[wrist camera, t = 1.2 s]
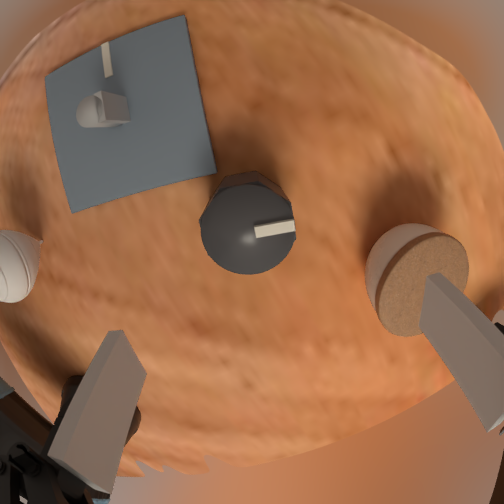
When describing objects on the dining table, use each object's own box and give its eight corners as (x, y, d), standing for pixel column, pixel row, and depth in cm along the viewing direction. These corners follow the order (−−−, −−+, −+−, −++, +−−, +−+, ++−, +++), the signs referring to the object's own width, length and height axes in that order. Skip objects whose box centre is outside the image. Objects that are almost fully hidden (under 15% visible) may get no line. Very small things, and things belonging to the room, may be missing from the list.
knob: (220, 248, 28) (212, 283, 21) (204, 181, 25) (189, 197, 19) (288, 235, 27) (301, 268, 21) (277, 166, 25) (288, 178, 18)
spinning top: (28, 199, 25) (-42, 235, 14) (71, 230, 26) (4, 281, 15) (19, 249, 27) (-39, 294, 16) (58, 280, 29) (5, 337, 18)
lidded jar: (338, 292, 30) (366, 348, 22) (367, 199, 26) (416, 231, 17) (410, 300, 31) (447, 346, 22) (441, 221, 27) (493, 253, 18)
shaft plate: (76, 211, 26) (45, 229, 20) (49, 77, 19) (15, 73, 14) (217, 171, 25) (209, 182, 19) (186, 18, 18) (171, -8, 13)
